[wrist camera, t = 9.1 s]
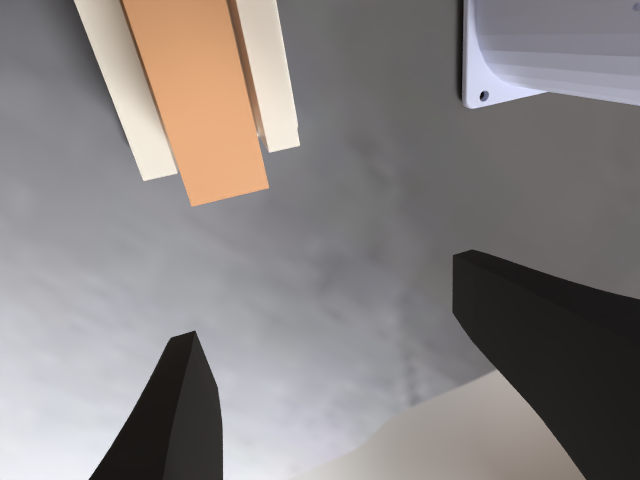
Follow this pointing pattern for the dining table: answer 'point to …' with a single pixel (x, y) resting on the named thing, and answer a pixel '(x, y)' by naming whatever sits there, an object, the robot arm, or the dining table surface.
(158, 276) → the dining table surface
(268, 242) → the dining table surface
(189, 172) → the panel
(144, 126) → the holder
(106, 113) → the dining table surface
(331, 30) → the dining table surface
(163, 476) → the robot arm
